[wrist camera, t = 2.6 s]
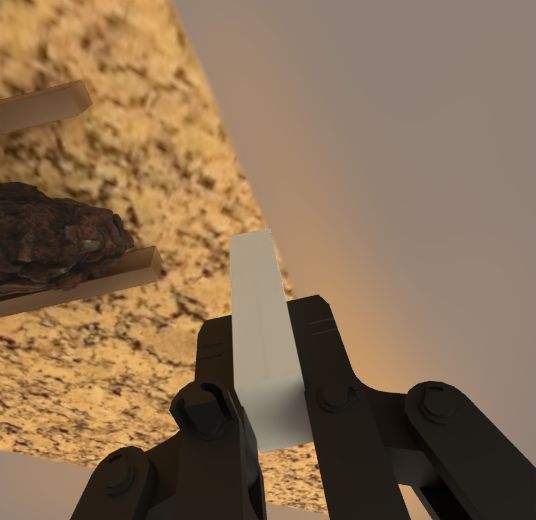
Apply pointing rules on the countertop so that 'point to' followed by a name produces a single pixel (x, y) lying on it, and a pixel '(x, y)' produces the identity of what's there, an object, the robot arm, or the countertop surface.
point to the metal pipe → (54, 241)
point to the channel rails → (125, 273)
